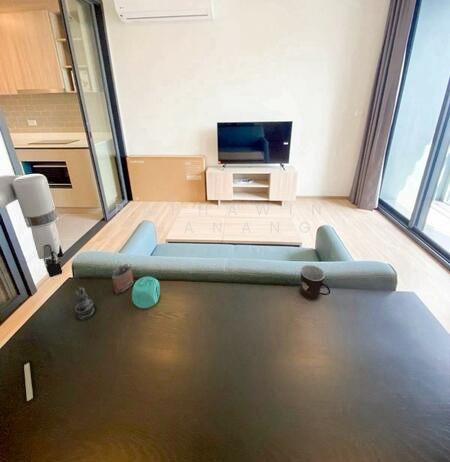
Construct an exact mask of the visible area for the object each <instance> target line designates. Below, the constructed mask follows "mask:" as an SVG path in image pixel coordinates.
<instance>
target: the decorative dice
mask: <svg viewBox="0 0 450 462" xmlns="http://www.w3.org/2000/svg"><path fill="white" fill-rule="evenodd" d="M131 291H132V292H131V300H132V303H133V304H134V305H135V306H136V307H138V308H140V309H148V308H151V307H153V306H154V305H156V304H157V303H158V301H159V298H160V291H161V285H160V281H159V280H158V279H156V278H155V277H154V276H143V277H140V278H139V279H137V280H136V281H135V282H134V283H133V287H132V290H131Z"/></svg>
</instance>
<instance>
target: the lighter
mask: <svg viewBox="0 0 450 462" xmlns="http://www.w3.org/2000/svg"><path fill="white" fill-rule="evenodd" d="M111 280H112V282H113V286H114V293H115V294H117V295H118V294H120V293H122V292H125V291H126V290H127V289H129V288H131V287H132V286H133V285H134V284H135V280H134V277H133V272H132V266H129V264H127V263H126V264H123V265H120V266H119V267H118V268H116V269H115V270H113V271H112V275H111Z"/></svg>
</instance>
